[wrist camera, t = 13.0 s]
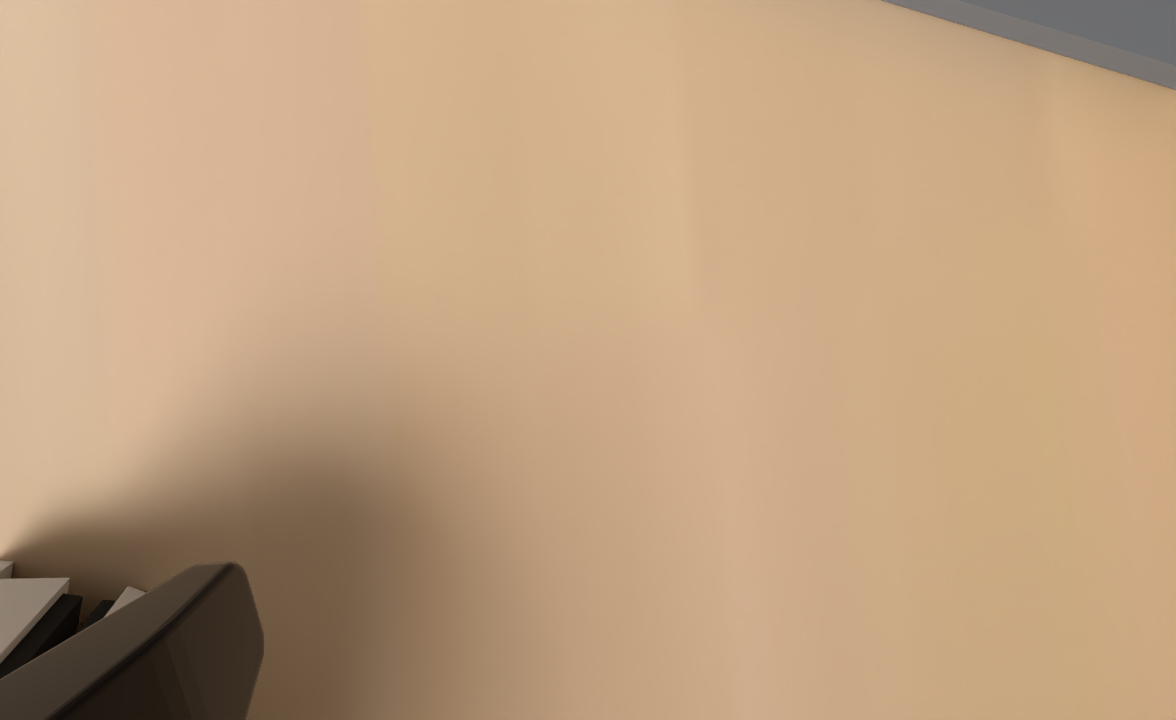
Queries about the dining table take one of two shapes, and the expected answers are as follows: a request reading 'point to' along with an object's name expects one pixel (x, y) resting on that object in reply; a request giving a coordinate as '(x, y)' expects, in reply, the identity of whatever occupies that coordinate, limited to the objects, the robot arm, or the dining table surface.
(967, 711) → the dining table surface
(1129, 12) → the charcoal plate
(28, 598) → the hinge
